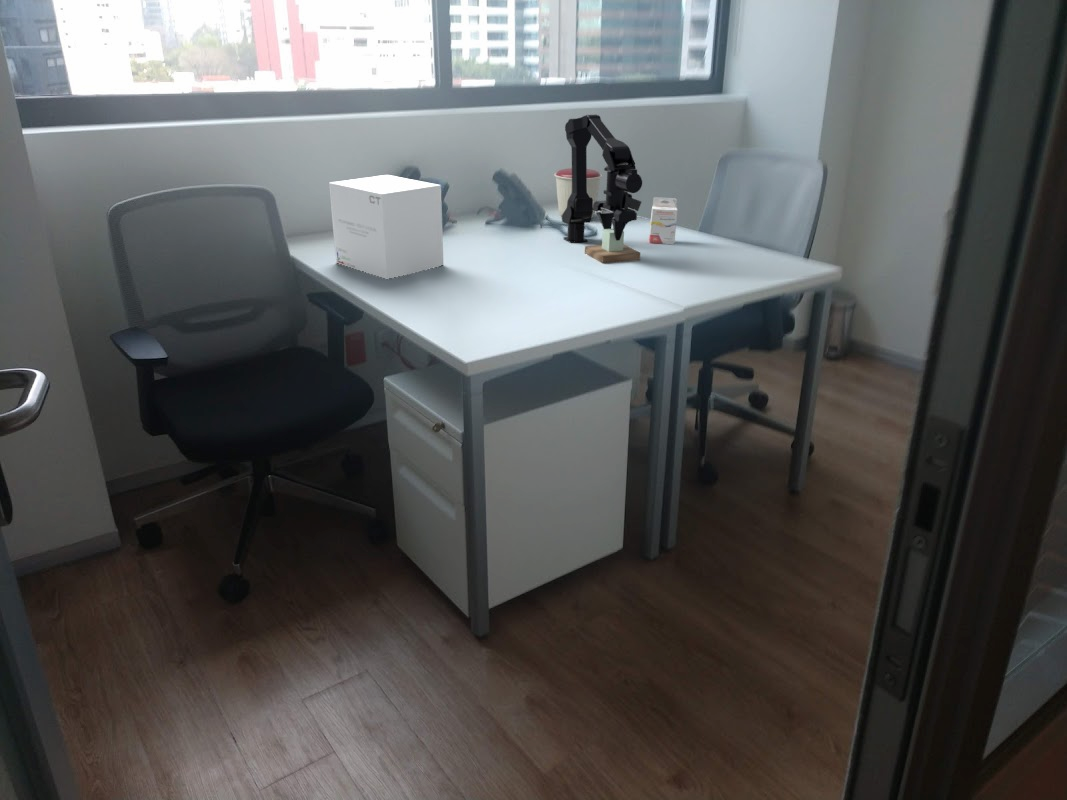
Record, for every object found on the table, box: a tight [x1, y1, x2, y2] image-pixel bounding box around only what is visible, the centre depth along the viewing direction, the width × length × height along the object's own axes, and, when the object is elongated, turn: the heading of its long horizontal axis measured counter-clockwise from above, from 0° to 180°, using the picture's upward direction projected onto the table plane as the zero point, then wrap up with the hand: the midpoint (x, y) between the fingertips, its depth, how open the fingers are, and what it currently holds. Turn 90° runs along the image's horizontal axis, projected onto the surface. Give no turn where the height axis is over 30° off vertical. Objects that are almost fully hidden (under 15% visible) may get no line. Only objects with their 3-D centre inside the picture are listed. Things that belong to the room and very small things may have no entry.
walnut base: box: [584, 243, 641, 264], centre depth 258 cm, size 13×13×3 cm
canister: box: [553, 167, 603, 219], centre depth 307 cm, size 18×18×21 cm
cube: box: [328, 174, 444, 280], centre depth 240 cm, size 25×21×24 cm
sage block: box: [601, 228, 625, 252], centre depth 256 cm, size 5×5×6 cm
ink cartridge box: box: [648, 197, 678, 245], centre depth 274 cm, size 9×5×15 cm, turn 84°
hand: (612, 237), depth 256 cm, fingers open, 6 cm apart
